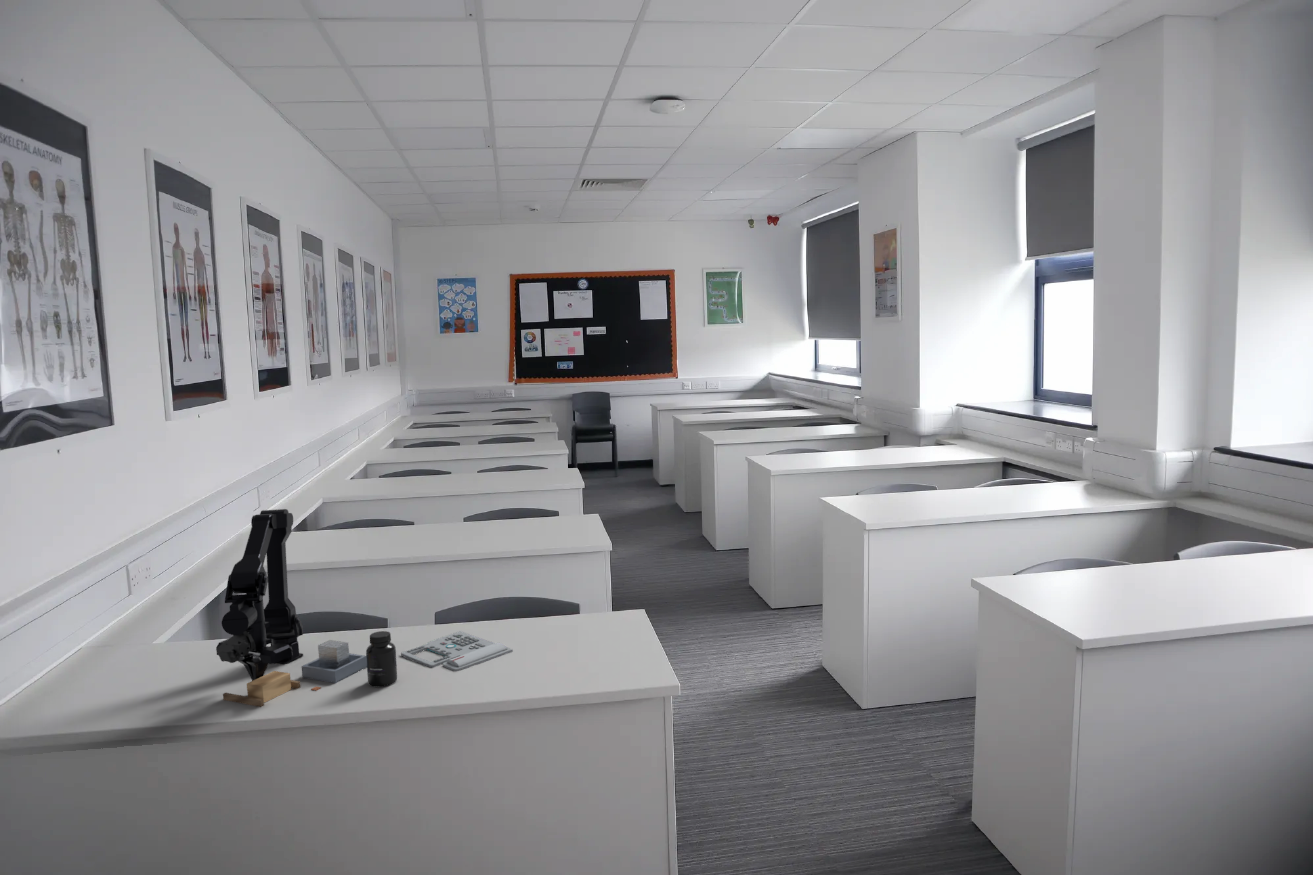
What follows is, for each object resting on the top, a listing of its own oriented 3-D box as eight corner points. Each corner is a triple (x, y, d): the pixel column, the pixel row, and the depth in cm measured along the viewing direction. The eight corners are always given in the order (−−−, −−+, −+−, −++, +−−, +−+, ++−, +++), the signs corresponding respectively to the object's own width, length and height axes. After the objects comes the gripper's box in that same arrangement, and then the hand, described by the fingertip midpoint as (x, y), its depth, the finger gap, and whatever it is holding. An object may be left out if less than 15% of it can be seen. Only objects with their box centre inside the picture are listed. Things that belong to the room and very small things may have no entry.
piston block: (248, 699, 198) (246, 683, 198) (275, 686, 206) (274, 670, 205) (264, 702, 196) (262, 686, 196) (291, 689, 204) (289, 673, 203)
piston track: (223, 700, 199) (222, 693, 199) (268, 679, 211) (267, 673, 211) (278, 710, 192) (277, 704, 192) (321, 688, 204) (320, 682, 204)
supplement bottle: (370, 690, 202) (366, 641, 200) (366, 680, 208) (362, 632, 206) (400, 683, 205) (396, 635, 204) (395, 674, 211) (391, 627, 210)
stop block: (320, 672, 213) (317, 645, 212) (332, 666, 217) (329, 639, 216) (338, 675, 211) (336, 647, 210) (350, 669, 214) (348, 642, 213)
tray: (302, 677, 211) (301, 666, 211) (334, 662, 221) (333, 650, 220) (336, 683, 207) (335, 671, 206) (367, 667, 216) (366, 655, 216)
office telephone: (513, 643, 224) (450, 667, 209) (514, 653, 224) (450, 677, 209) (459, 626, 239) (397, 646, 224) (460, 635, 240) (397, 656, 225)
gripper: (192, 627, 197) (199, 692, 199) (251, 636, 189) (257, 703, 191) (234, 612, 207) (239, 674, 209) (291, 620, 199) (296, 684, 201)
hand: (257, 684), depth 202 cm, fingers closed
